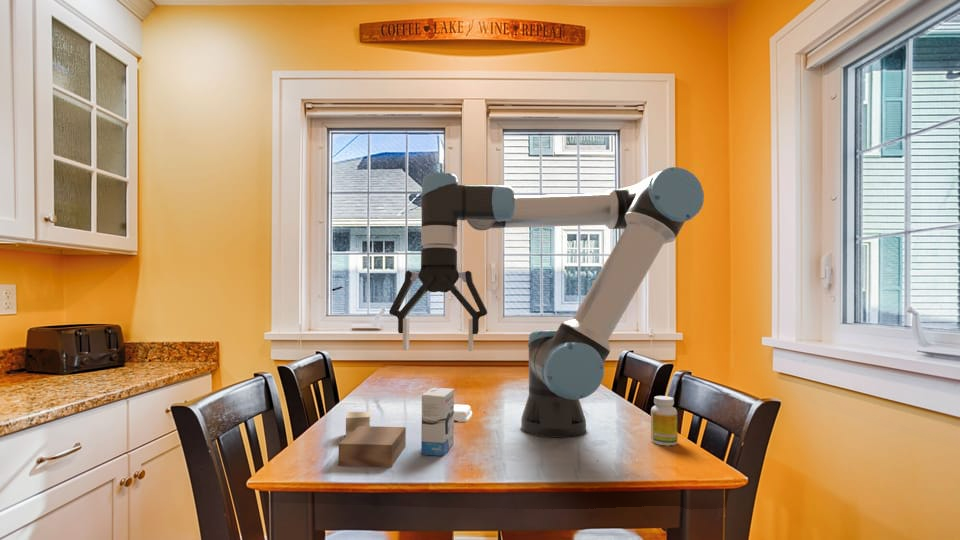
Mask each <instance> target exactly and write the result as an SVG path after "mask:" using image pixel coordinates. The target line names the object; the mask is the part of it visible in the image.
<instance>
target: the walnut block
mask: <svg viewBox="0 0 960 540" xmlns="http://www.w3.org/2000/svg"><path fill="white" fill-rule="evenodd" d="M406 429H407V427H406V426H375V425H374V426H371V425H370V426H358V427H357V428H356V429H355V430H354V431H353V432H351V433H350V434H349V435H348V436H347V437H346V436H345V438H343V439H342V440H341V441H340V442H339V443H338V463H337V465H338V466H340V467H345V466H347V467H348V466H349V467H380V468H382V467H383V468H386V467H387V468H392V467H393V466H394V464H395V462H396V461H397V460H398V458H399V457H400V455H401V454H402V453H403V451H404V450H405V448H406V447H407V446H406V434H407V433H406V432H407V430H406Z"/></svg>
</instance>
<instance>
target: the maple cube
mask: <svg viewBox="0 0 960 540" xmlns="http://www.w3.org/2000/svg"><path fill="white" fill-rule="evenodd" d="M370 424H371V411H370V410H369V411H351V412H350V411H349V412H348V411H347V413H346V417H345V438H346V437H347V436H348V435H349V434H350V433H351V432H353V431H354V430H355V429H356V428H357V427H358V426H371V425H370Z"/></svg>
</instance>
